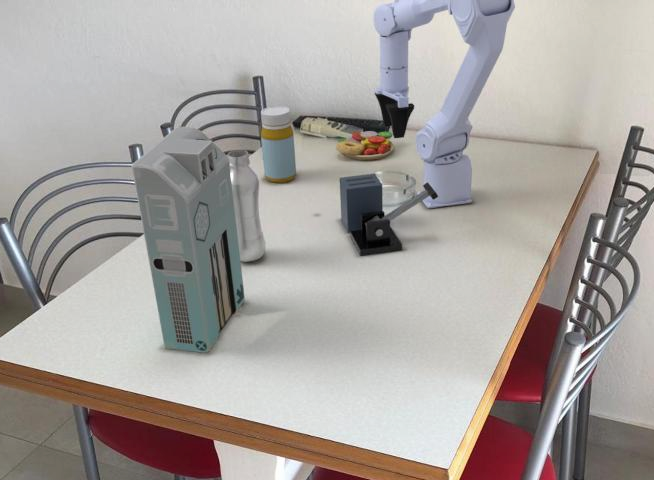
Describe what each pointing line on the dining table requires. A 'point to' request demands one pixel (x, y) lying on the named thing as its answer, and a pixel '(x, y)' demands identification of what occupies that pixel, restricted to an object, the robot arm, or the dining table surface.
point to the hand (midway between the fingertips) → (394, 131)
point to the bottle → (278, 145)
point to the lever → (409, 203)
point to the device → (190, 237)
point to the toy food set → (366, 145)
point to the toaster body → (359, 199)
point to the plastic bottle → (246, 206)
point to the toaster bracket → (375, 235)
